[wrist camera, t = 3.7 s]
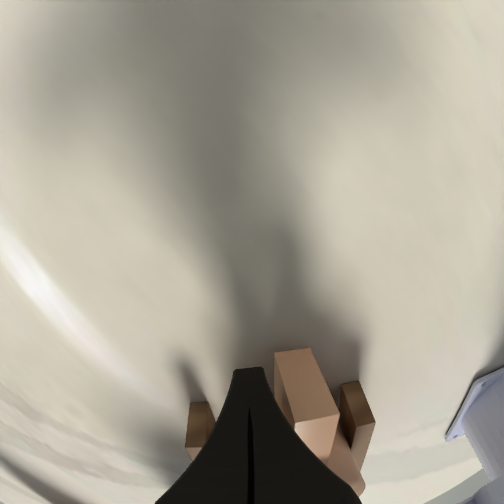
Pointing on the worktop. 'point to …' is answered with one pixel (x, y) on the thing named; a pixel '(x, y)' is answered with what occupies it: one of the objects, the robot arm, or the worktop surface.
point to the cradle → (351, 420)
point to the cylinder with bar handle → (314, 413)
